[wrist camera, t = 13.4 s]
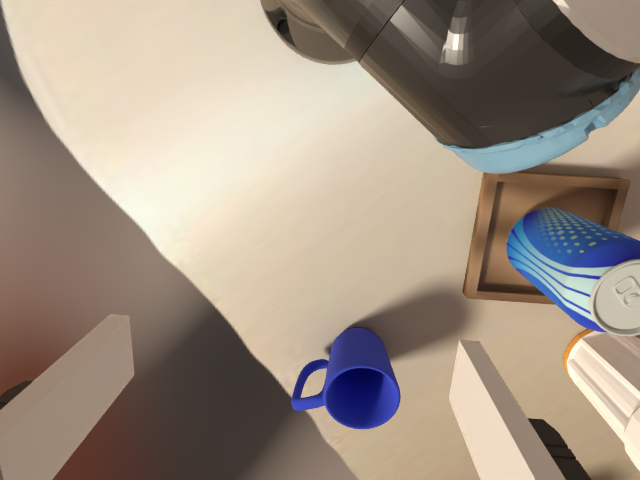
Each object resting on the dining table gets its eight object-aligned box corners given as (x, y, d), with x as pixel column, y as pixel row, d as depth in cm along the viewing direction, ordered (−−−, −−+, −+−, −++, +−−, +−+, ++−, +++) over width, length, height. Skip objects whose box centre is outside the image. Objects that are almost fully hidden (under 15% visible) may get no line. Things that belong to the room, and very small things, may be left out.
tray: (484, 169, 46) (489, 171, 44) (619, 178, 45) (630, 180, 44) (462, 292, 50) (467, 298, 48) (585, 300, 50) (594, 307, 48)
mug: (290, 333, 53) (279, 381, 43) (381, 313, 51) (391, 358, 42) (307, 386, 55) (301, 442, 46) (395, 367, 54) (407, 422, 44)
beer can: (582, 204, 46) (704, 248, 31) (570, 273, 48) (677, 347, 33) (506, 204, 46) (589, 248, 31) (497, 273, 49) (571, 346, 33)
